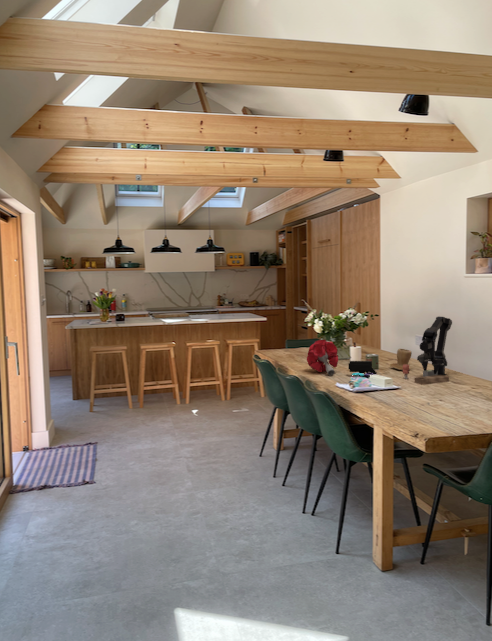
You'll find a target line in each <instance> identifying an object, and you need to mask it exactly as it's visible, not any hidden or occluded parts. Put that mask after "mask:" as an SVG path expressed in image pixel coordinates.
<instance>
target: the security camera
mask: <svg viewBox="0 0 492 641" xmlns="http://www.w3.org/2000/svg"><path fill="white" fill-rule="evenodd" d="M348 370H349V373H358V374H359V373H364V374H365V375H366V374H367V375H373V374H378V373H377V371H376V370H375V369H374V367H373V361H372V360H349V363H348Z"/></svg>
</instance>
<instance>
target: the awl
mask: <svg viewBox="0 0 492 641" xmlns="http://www.w3.org/2000/svg"><path fill="white" fill-rule="evenodd" d="M409 368H410V364H408V365H407V364H404V365H403V370H402V374H403V375H404V377H403V378H404V380H405V379H406V380H407V379H409V378H408V375H409V374H410V369H409Z"/></svg>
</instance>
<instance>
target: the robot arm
mask: <svg viewBox="0 0 492 641" xmlns="http://www.w3.org/2000/svg"><path fill="white" fill-rule="evenodd" d="M452 325H453V320H452V319H451V318H450V317H449V318H448V317H445V316H436V317H435V320H434V322H433V323H432V324H431V326H430V327H428V328H426V329H425V331H423V334H422V337H421V341H422V342H421V343H420V344H419V349H420V351H422V353H421V354H418V355H417V357H416V359H417V361H418V362H419V363H420V364H421V366H422V369H423V371H426V370H427V369H428V364H429V362H431V365H432V366H433V370H434V374H436V373H437V371H438V375H444V376H447V373H446V367H447V366H448V360H447V358H446V354H445V346H446V340H447V335H448V331H450V329H451V328H452ZM438 331H439V332H438ZM436 340H437V345H436Z"/></svg>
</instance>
